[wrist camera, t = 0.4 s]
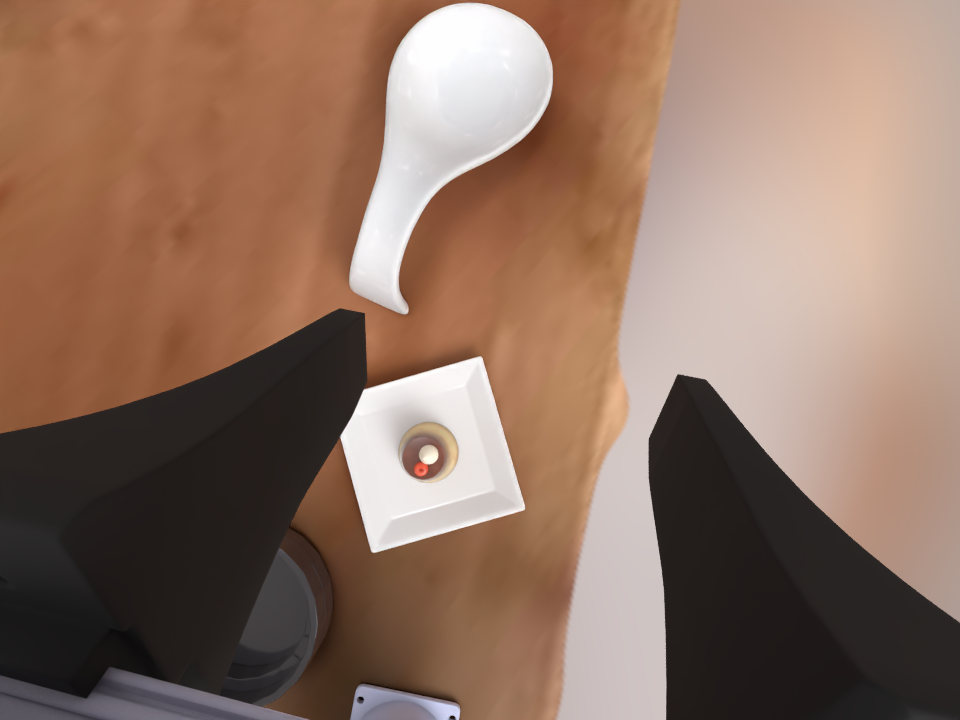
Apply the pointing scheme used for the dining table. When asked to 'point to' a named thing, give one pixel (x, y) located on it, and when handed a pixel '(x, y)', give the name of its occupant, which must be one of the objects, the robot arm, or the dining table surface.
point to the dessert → (429, 456)
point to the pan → (282, 625)
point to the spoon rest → (445, 124)
